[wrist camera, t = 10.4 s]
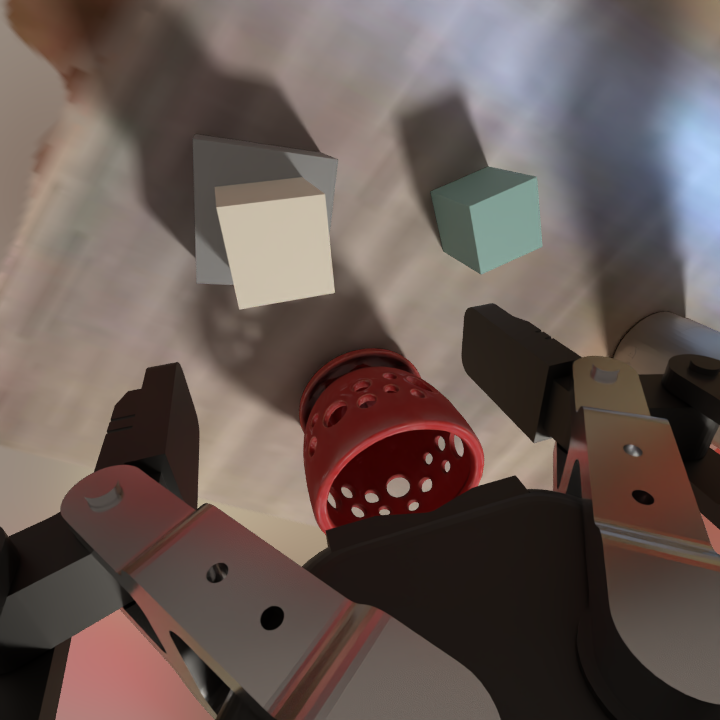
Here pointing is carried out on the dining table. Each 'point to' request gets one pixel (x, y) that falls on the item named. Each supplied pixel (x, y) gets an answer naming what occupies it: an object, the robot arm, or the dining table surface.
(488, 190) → the teal block
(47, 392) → the dining table surface
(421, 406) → the plant pot
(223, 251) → the slate base block
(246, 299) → the cream block
